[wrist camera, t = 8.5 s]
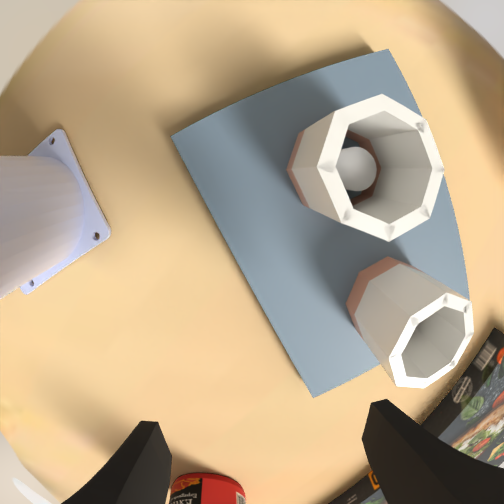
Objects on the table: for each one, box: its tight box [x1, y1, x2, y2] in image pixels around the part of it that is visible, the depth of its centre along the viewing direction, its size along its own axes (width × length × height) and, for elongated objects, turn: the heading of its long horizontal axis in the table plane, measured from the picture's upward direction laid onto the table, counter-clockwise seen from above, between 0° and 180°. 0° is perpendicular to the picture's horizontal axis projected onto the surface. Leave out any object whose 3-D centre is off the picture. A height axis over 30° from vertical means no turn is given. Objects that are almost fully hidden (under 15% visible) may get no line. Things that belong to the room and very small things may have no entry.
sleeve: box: [286, 94, 444, 242], centre depth 12 cm, size 5×5×6 cm
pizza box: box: [329, 327, 504, 504], centre depth 26 cm, size 35×35×4 cm
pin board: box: [171, 49, 470, 398], centre depth 15 cm, size 14×19×4 cm
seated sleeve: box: [345, 256, 474, 388], centre depth 14 cm, size 5×5×6 cm
